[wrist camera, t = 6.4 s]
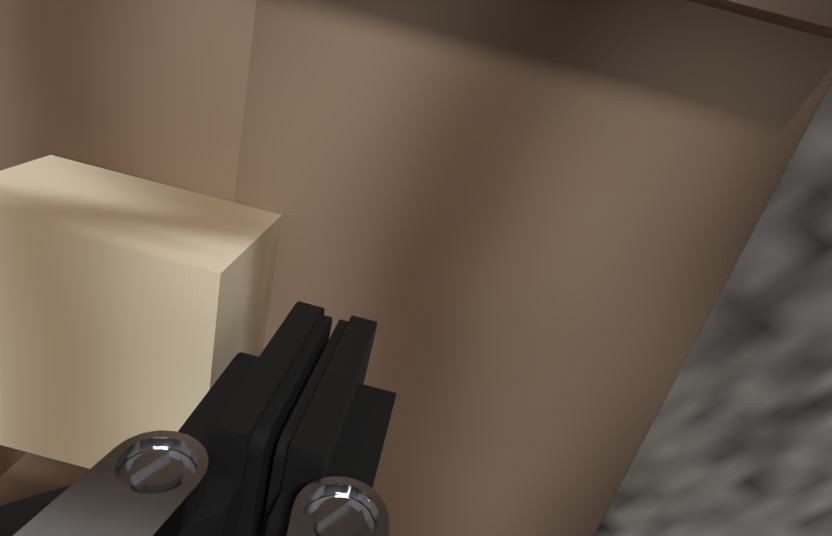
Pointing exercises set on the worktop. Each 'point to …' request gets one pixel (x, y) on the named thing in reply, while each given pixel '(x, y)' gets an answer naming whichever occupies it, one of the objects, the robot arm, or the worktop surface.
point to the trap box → (453, 201)
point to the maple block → (120, 304)
